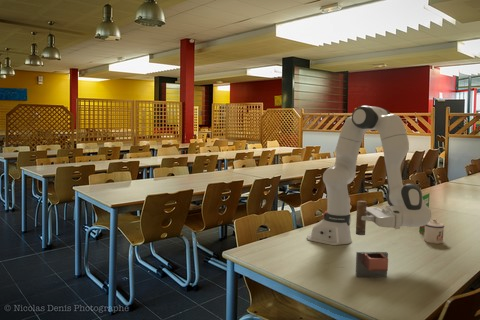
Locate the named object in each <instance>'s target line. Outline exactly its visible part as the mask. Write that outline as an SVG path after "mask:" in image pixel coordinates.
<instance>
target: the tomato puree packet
mask: <svg viewBox="0 0 480 320" xmlns="http://www.w3.org/2000/svg"><path fill="white" fill-rule="evenodd" d="M422 197H423V200H424V202H425V204H426V206H427V207H428V208H429V207H430V193H426V194H425V195H422ZM429 209H430V208H429ZM418 230H419V231H418V232H419V233H421V232H422V231H425V225H424V226H419V229H418Z"/></svg>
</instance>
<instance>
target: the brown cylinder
mask: <svg viewBox="0 0 480 320" xmlns="http://www.w3.org/2000/svg"><path fill="white" fill-rule="evenodd" d="M367 204H368V203H367V201H366V200H358V201H356V219H355V220H356V221H355V235H357V236H365V235H366V226H367V225H366V224H367V221H366V220H361V215H365V216H366V207H367Z"/></svg>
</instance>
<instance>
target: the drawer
mask: <svg viewBox="0 0 480 320" xmlns="http://www.w3.org/2000/svg"><path fill="white" fill-rule="evenodd" d="M355 252H356V253H355V254H356V257H355V277H357V278H378V277H379V278H387V277H388V269H389V253H388V251H360V252H359V251H355Z"/></svg>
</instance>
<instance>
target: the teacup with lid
mask: <svg viewBox="0 0 480 320" xmlns="http://www.w3.org/2000/svg"><path fill="white" fill-rule="evenodd" d="M444 229H445V225H444V223H443V222H440V221H438V220H437V219H436V218H431V219H430V221H429V223H428V224H427V225H425V229H424V235H423V236H424V237H423V241H424V242H427V243H430V244H436V245H437V244H442V243H444Z"/></svg>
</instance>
